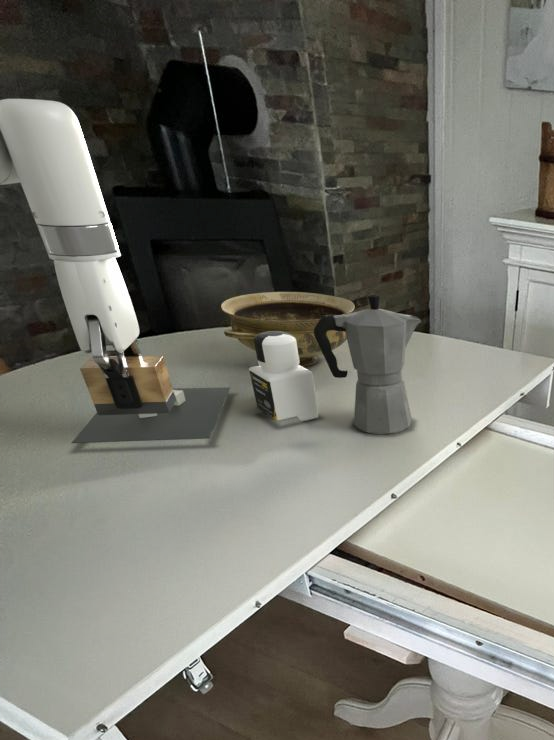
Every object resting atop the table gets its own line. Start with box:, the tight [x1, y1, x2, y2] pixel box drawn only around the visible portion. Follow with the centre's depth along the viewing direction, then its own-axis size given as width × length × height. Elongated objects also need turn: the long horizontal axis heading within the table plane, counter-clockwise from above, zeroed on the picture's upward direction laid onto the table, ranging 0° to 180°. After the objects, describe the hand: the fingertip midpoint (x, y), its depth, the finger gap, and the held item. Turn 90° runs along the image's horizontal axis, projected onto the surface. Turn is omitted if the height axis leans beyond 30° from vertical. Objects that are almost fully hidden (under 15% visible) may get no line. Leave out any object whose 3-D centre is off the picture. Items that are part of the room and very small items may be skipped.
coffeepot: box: [314, 293, 422, 435], centre depth 87 cm, size 15×9×18 cm, turn 110°
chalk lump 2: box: [173, 390, 186, 406], centre depth 93 cm, size 2×2×2 cm
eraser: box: [79, 355, 176, 415], centre depth 79 cm, size 9×5×6 cm, turn 100°
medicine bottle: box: [248, 331, 319, 422], centre depth 90 cm, size 7×7×12 cm
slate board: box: [71, 386, 231, 444], centre depth 90 cm, size 18×22×1 cm
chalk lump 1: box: [138, 414, 157, 418], centre depth 88 cm, size 2×2×2 cm
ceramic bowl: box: [220, 291, 356, 367], centre depth 113 cm, size 30×24×10 cm
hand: (135, 398), depth 81 cm, fingers closed on eraser, 5 cm apart
